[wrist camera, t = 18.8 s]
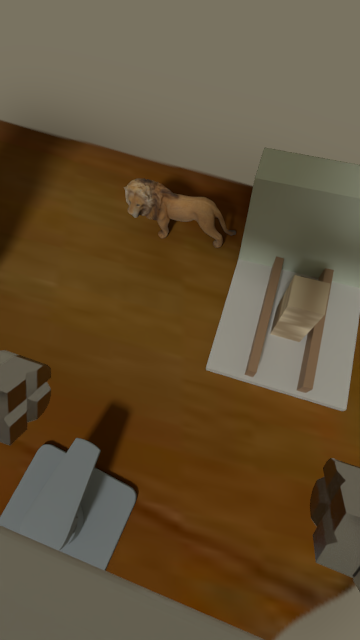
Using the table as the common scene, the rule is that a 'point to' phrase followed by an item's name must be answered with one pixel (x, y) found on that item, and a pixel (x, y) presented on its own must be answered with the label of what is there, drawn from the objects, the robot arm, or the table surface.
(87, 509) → the shower valve
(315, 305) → the beige wooden block
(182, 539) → the table surface
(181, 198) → the lion figurine
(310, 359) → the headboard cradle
